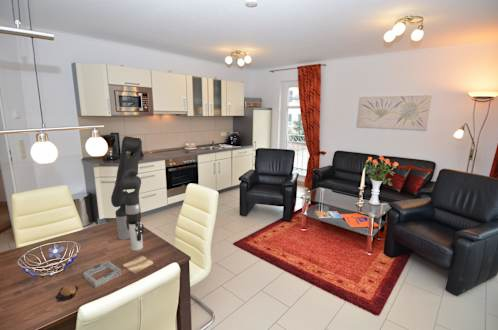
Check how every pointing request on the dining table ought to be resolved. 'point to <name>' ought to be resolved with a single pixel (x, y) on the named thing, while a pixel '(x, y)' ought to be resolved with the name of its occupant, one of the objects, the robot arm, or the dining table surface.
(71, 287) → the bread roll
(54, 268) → the dining table surface
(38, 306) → the dining table surface
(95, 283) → the square frame
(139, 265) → the square tan coaster
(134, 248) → the travel mug
